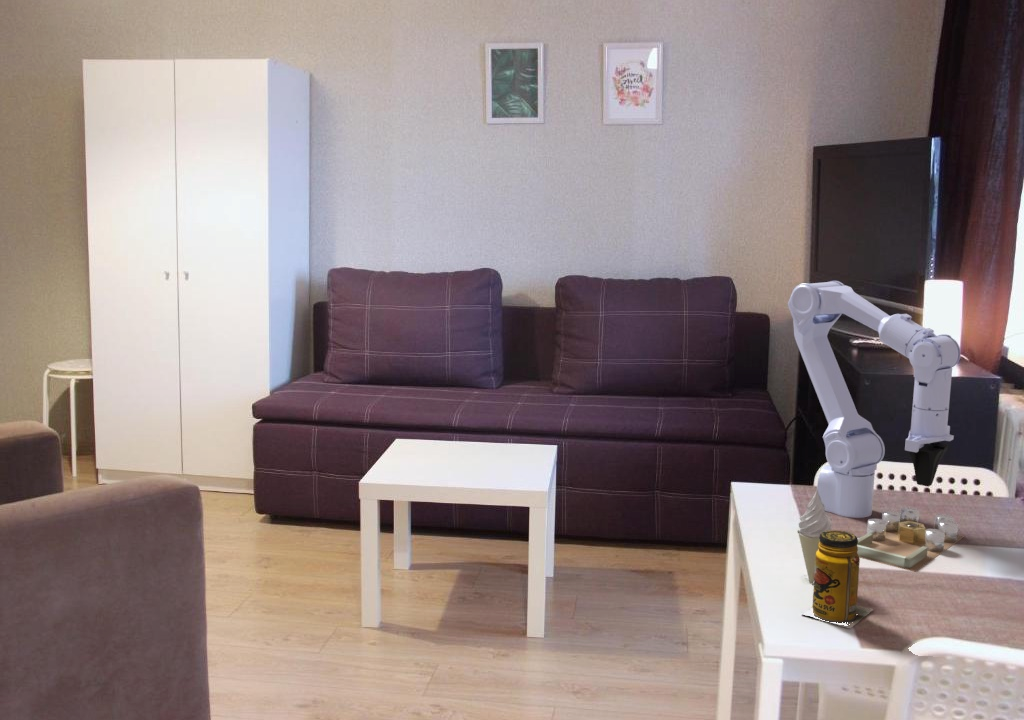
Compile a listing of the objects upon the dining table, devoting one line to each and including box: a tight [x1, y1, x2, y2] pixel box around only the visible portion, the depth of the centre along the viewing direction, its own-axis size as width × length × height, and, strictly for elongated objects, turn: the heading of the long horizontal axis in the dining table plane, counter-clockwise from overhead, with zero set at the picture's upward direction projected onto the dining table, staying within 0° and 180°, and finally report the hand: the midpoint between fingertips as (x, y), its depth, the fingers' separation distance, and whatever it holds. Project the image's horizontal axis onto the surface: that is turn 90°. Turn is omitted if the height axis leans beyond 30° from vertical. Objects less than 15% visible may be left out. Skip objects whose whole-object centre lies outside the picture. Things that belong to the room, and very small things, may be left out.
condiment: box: [812, 529, 874, 629], centre depth 152 cm, size 7×8×12 cm
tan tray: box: [857, 527, 966, 573], centre depth 178 cm, size 12×22×3 cm, turn 138°
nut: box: [898, 521, 926, 544], centre depth 180 cm, size 4×5×3 cm
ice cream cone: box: [797, 489, 832, 584], centre depth 163 cm, size 5×5×15 cm
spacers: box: [866, 506, 959, 553], centre depth 181 cm, size 12×13×3 cm
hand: (924, 484), depth 182 cm, fingers closed
